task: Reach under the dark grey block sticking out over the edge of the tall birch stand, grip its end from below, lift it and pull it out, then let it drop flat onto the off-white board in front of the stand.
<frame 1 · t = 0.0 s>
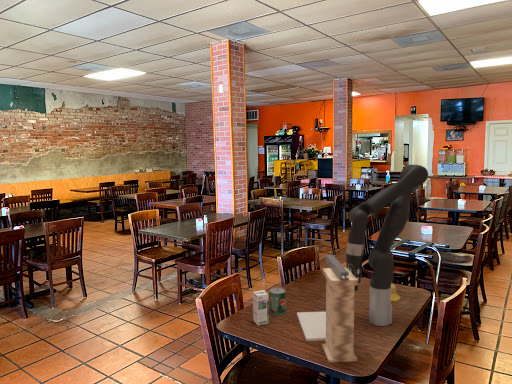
hand: (351, 287, 172), 17 cm above the table, fingers open, 8 cm apart
syrup box: (261, 322, 176), on the table
off-white board: (320, 326, 171), on the table
canned tomato: (277, 312, 187), on the table
dark grey block: (336, 270, 150), point 32 cm above the table, touching birch stand
birch stand: (338, 351, 149), on the table
handbell: (389, 298, 203), on the table
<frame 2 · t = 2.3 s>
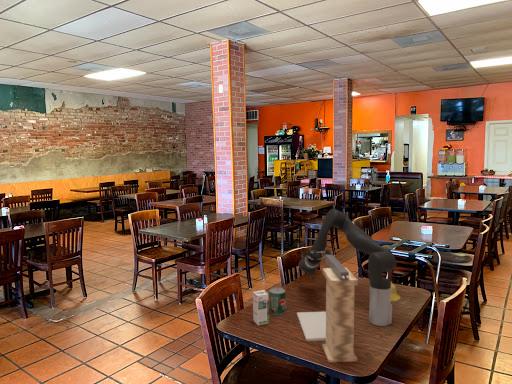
hand: (318, 251, 182), 31 cm above the table, fingers open, 8 cm apart
nothing on the table moved.
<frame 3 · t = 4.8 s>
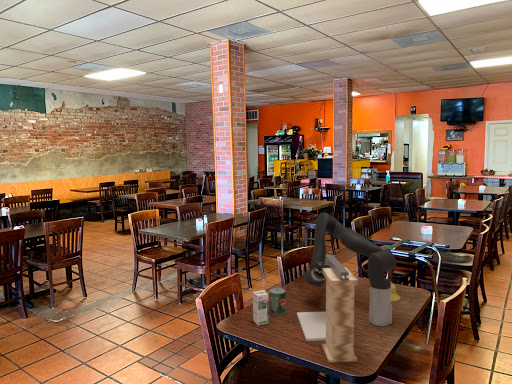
hand: (327, 263, 165), 30 cm above the table, fingers open, 8 cm apart
nothing on the table moved.
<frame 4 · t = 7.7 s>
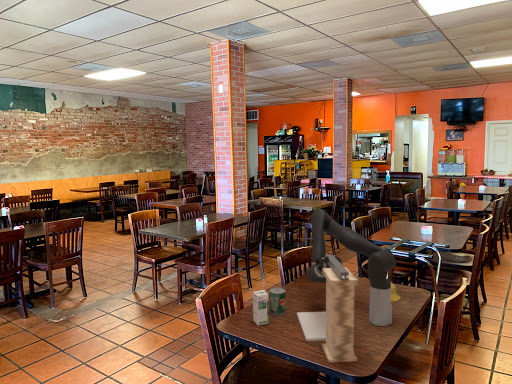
hand: (332, 258, 156), 35 cm above the table, fingers closed on dark grey block, 3 cm apart
dark grey block: (336, 270, 150), point 32 cm above the table, touching birch stand, gripper
everything else where it was.
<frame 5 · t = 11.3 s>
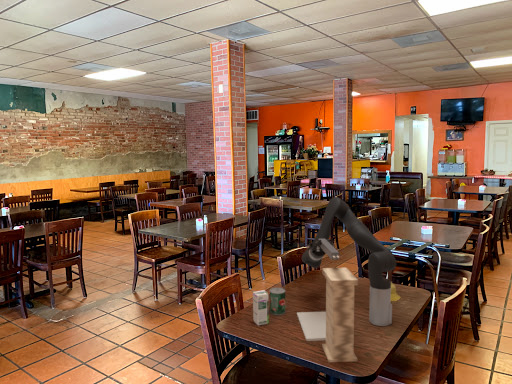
hand: (324, 241, 169), 39 cm above the table, fingers closed on dark grey block, 3 cm apart
dark grey block: (328, 251, 163), point 36 cm above the table, touching gripper
everything else where it was.
when the fingers open (26 cm above the table, at t = 15.1 s): dark grey block drops 21 cm and tips over, resting on off-white board.
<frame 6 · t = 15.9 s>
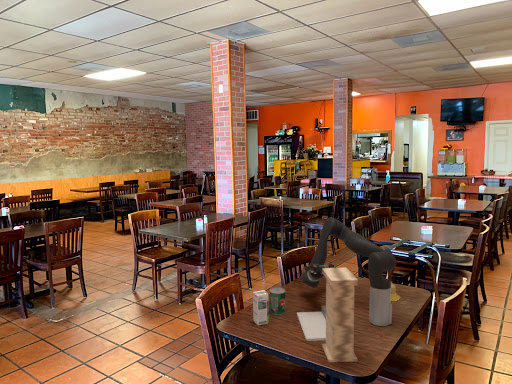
hand: (321, 265, 176), 26 cm above the table, fingers open, 8 cm apart
dark grey block: (327, 319, 172), point 2 cm above the table, tilted 90°, touching off-white board
everything else where it was.
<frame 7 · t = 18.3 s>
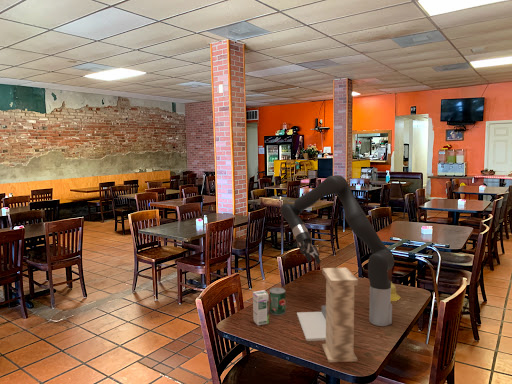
hand: (314, 262, 186), 25 cm above the table, fingers open, 8 cm apart
nothing on the table moved.
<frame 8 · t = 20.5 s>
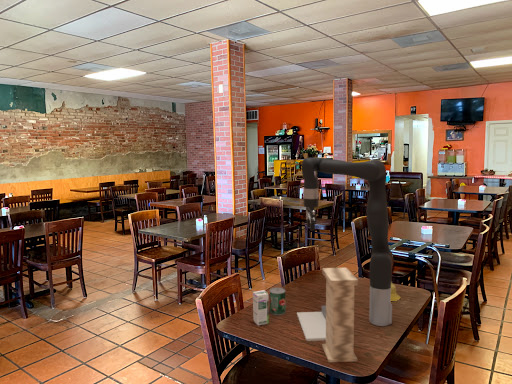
hand: (310, 228, 191), 40 cm above the table, fingers open, 8 cm apart
nothing on the table moved.
at the end: dark grey block inside the target area (3.2 cm from its centre), point 2.5 cm above the table; the gripper is holding nothing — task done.
